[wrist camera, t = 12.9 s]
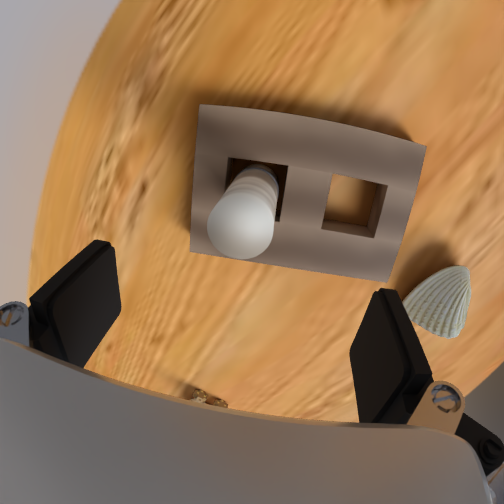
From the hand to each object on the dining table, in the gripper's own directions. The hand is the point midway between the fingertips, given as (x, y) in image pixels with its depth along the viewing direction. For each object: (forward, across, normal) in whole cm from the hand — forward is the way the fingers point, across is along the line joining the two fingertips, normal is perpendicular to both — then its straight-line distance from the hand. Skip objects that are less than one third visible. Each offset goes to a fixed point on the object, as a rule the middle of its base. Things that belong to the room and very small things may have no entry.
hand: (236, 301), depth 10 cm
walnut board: (+20, -3, +1) cm, 21 cm away
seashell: (+21, -21, +9) cm, 31 cm away
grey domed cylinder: (+20, +1, +1) cm, 20 cm away
